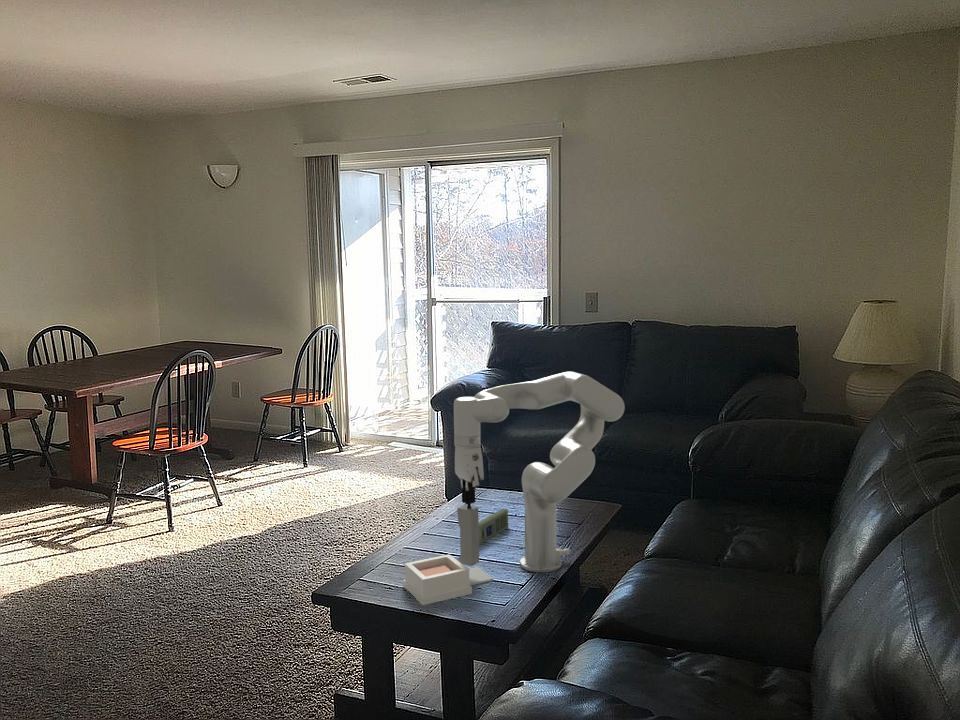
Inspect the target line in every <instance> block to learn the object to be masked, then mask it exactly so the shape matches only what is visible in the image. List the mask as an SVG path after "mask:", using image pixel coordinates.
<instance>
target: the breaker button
mask: <svg viewBox="0 0 960 720" xmlns="http://www.w3.org/2000/svg"><path fill="white" fill-rule="evenodd" d="M419 571H420V572H421V573H422V574H423V575H424V576H431V575H436V574H440V573H445V572H449V571H451V570H450V569H449V568H447V567H446V566H445V565H442V566H438V567H433V568H428V569H424V570H419Z"/></svg>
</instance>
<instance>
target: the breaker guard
mask: <svg viewBox="0 0 960 720" xmlns="http://www.w3.org/2000/svg"><path fill="white" fill-rule="evenodd" d="M442 565H445V566H446V567H447V568H449V569H450V570H451V571H449V572H445V573H440V574H436V575H431V576H424V575H423V574H422V573H421V572H420V571H419V570H424V569H428V568H433V567H438V566H442ZM402 587H403V588H404V589H405V590H406V589H407V590H406V591H407V592H408V591H409V592H410V593H411V594H412V595H413V596H414V597H415V598H416V601H417V602H418V603H420V605H422V606H426V605H429V604H434V603H438V602H442V601H447V600H451V598H452V599H454V598H455V599H456V598H459V597H464V596H467V595H472V594H473V587H472V585H471V586H470V585H469V568H468V567H466V565H464V564H461V563H460V562H459V561H458V559H456V557H454V556H452V555H451V554H450V553H449V554H445V555H444V554H443V555H440V556H439V555H438V556H434V557H429V558H425V559H420V560H419V559H418V560H415V561H414V560H413V561H410V562H406V563H404V579H403V580H402ZM409 592H408V593H409ZM410 593H409V594H410ZM411 594H410V595H411ZM412 595H411V596H412ZM413 596H412V597H413ZM414 597H413V598H414ZM415 598H414V599H415Z"/></svg>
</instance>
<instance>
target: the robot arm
mask: <svg viewBox="0 0 960 720" xmlns="http://www.w3.org/2000/svg"><path fill="white" fill-rule="evenodd" d="M569 401H571V402H575V403H578V404H579V405H580V414H579V416H580V417H579V419H578V422H577V423H576V424H575V425H574V427H572V429H570V431H568V432H567V434H565V435H564V436H563V437H562V438H561V439H560V440H559V441H558V442H557V443H555V445H553V447H552V448H551V450H550V452H549V459H550V461H551V463H552V464H553V465H554V466H555V467H554V466H551V465H549V464H547V463H544V462H540V461H534V462H532V463H530V464H527V466H526V467H525V468H524V469H523V470H522V471H523V472H522V475H521V486H522V487H521V488H522V493H523V500H524V556H523V557H521V559H520V560H519V566H520V567H521V568H522V569H524V570H526V571H529V572H533V573H551V572H554V571H557V570H559V569H560V568H561V567H562V560H561V558H562V557H563V556H568V555H570V554H571V550H570V548H563V549H562V547H557V503H560V502H562V501H564V500H565V499H566V498H568V497H569V496H570V495H571V494H572V493H573V492H574V491H575V490H576V489H577V488H578V487H579V486H580V485H581V484H582V483H583V482H584V481H585V480H586V479H587V478H588V477H590V475H591V474H592V472H593V470H594V468H595V465H596V456H595V453H594V452H593V449H594V447H595V446H596V445H597V444H598V443H599V442H600V440H601V439H602V437H603V434H604V430H605V421H606V422H609V423H610V422H612V423H613V422H616V421H618V420H619V419H621V418H622V416H623V414H624V413H625V407H626V406H625V401H624V400H623V398H622V397H621V396H620V395H619V394H617V393H616V392H614V391H613V390H612V389H609V388H608V387H607V386H605V385H604V384H601V383H600V382H599V381H597V380H595V379H594V378H592V377H590V376H589V375H586V374H584V373H579V372H576V371H572V370H571V371H565V372H564V371H563V372H561V373H557V374H552V375H549V376H546V377H542V378H538V379H535V380H531V381H524V382H517V383H510V384H503V385H499V386H494V387H491V388H488V389H483V390H481V391H479V392H477V393H476V394H475V395H474V396H461V397H457V398H455V399H454V401H453V430H454V432H453V433H454V434H453V438H454V440H453V442H454V447H455V448H454V473H455V475H456V476H457V477H458V480H459V481H460V488H461V502H462V503H464V505H468V504H475V503H476V489H477V487H479V486H480V482H479V480H480V481H483V480H484V479H485V477H484V460H483V453H482V448H481V444H482V443H481V441H482V440H481V439H482V438H481V437H482V435H481V423H499V422H503V421H504V420H505V419H506V418H507V417H508V416H509V414H510V410H511V409H512V410H513V409H524V410H541V409H544V408H547V407H551V406H555V405H557V404H558V405H559V404H562V403H564V402H569ZM469 483H470V484H469Z"/></svg>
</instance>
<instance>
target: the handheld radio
mask: <svg viewBox="0 0 960 720" xmlns="http://www.w3.org/2000/svg"><path fill="white" fill-rule="evenodd" d="M508 511H509V510H508V508H501V509H500V510H498V511H496V512H494V513H493V514H491V515H489V516H487V517H486V518H484V519H482V520H480V521H479V544H480V545H482V544H484V543H485V542H487V541H489V540H490V539H492V538H493V537H495V536H497V535H498V534H499V533H501V532H503V531H505V530H506V529H508V528H509V512H508Z"/></svg>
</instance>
